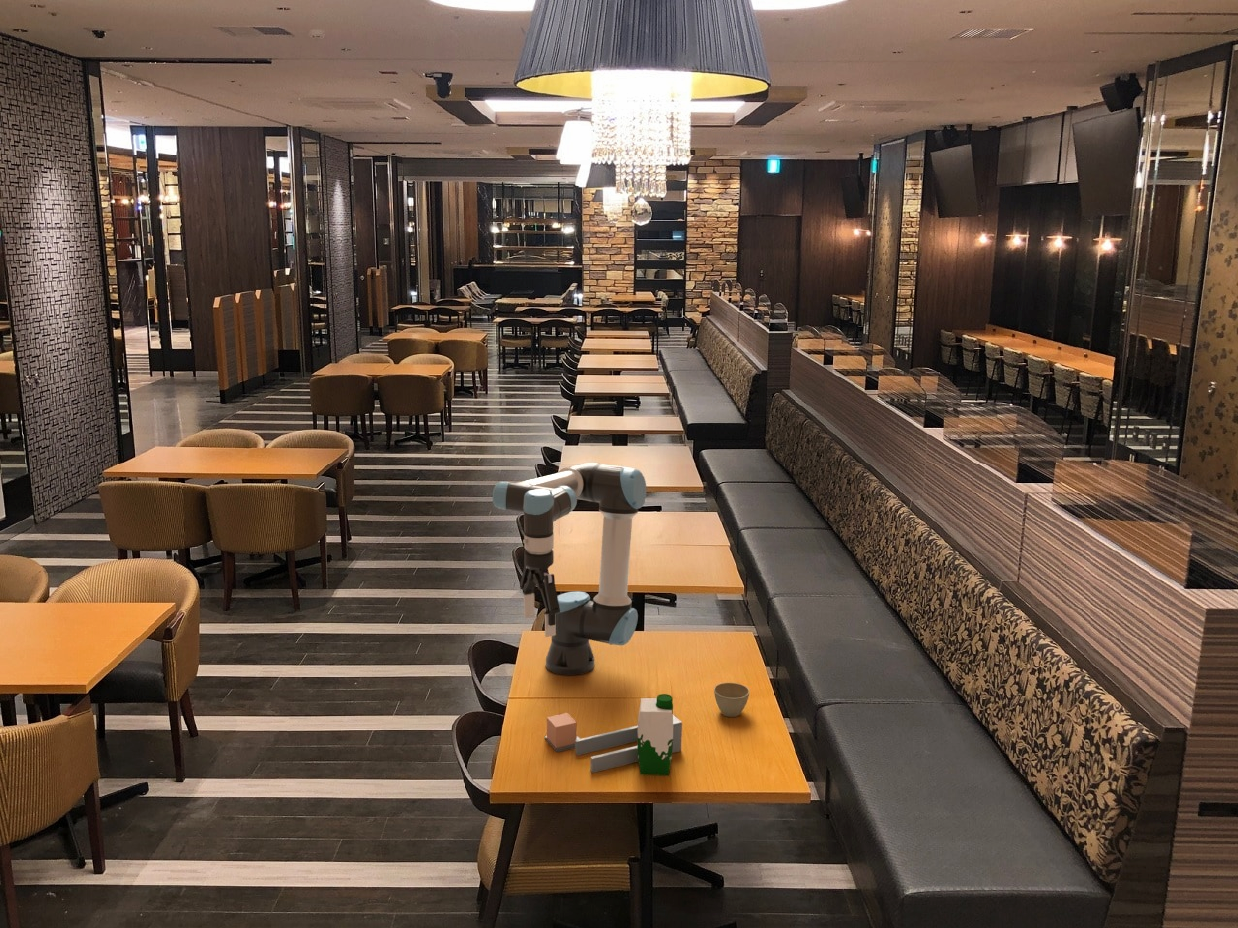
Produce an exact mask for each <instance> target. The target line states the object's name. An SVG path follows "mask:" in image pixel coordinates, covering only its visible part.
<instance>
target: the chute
mask: <svg viewBox="0 0 1238 928" xmlns="http://www.w3.org/2000/svg"><path fill="white" fill-rule="evenodd" d="M682 731H683V722H682V721H681V720H680V719H679V718H678V717H676V716H675V715H674V714H673V750H672V754H674V753H678V752H682V737H683V736H682V735H683V734H682ZM637 736H638V725H634V726H629V727H625V728H622V729H617V730H613V731H609V732H604V733H599V734H596V735H595V734H594V735H592V736H587V737H583V738H580V739H577V740H575V748H574V754H575V756H581V755H585V754H588V753H592V752H597V751H601V750H606V749H610V748H614V747H619V746H622V745H626V744H631V743H634V742H636V743H637ZM634 763H639V760H638V751H637V745H634V746H631V747H626V748H622V749H619V750H618V749H617V750H614V751H610V752H606V753H602V754H597V755H593V756H590V773H591V774H594V773H597V772H602V771H606V770H610V769H614V768H619V767H622V766H625V765H629V764H634Z"/></svg>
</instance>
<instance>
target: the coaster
mask: <svg viewBox="0 0 1238 928" xmlns="http://www.w3.org/2000/svg"><path fill="white" fill-rule="evenodd" d="M544 739H545V740H546V741H547V743H548V744H549V745H550V747H552V748H553V749H554V751H555V752H556V753H559V752H564V751H568V750H572V749H575V744H570V745H566V746H562V747H558V748H555V746H554V745H553V744H552V743H551V742H550V741H549V740H548V738H547V735H544ZM577 739H581V738H580V736H578V735H577Z"/></svg>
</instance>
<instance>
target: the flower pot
mask: <svg viewBox="0 0 1238 928" xmlns="http://www.w3.org/2000/svg"><path fill="white" fill-rule="evenodd" d="M713 693H714V699H715V702H716V704H717V707H718V709H719V711H720V713H721V714H722V715H723V716H725V717H728V718H736V717H738V716H740V714H742V712H743V710H744V709H745V707H746V705H747V703H748V700H749V696H750V689H749V688H748V687H747V686H745V685H743V684H741V683H736V682H722V683H718V684H716V686H715V687H714V688H713Z"/></svg>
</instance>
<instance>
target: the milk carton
mask: <svg viewBox="0 0 1238 928" xmlns="http://www.w3.org/2000/svg"><path fill="white" fill-rule="evenodd" d="M673 698H674V697H673V696H672V695H670V694H667V693H662V694H658V695H657V696H656V697H651V698H647V697H645V698H644V697H641V698H640V705H639V709H638V710H639V712H638V718H637V726H638V736H637V741H636V743H637V745H636V746H637V751H638V760H639V761H638V766H639V774H640V775H644V776H645V775H647V776H648V775H649V776H669V775H670V771H671V764H672V760H673V759H672V758H673V753H672V750H673V715H674V703H673V700H674V699H673Z"/></svg>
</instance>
